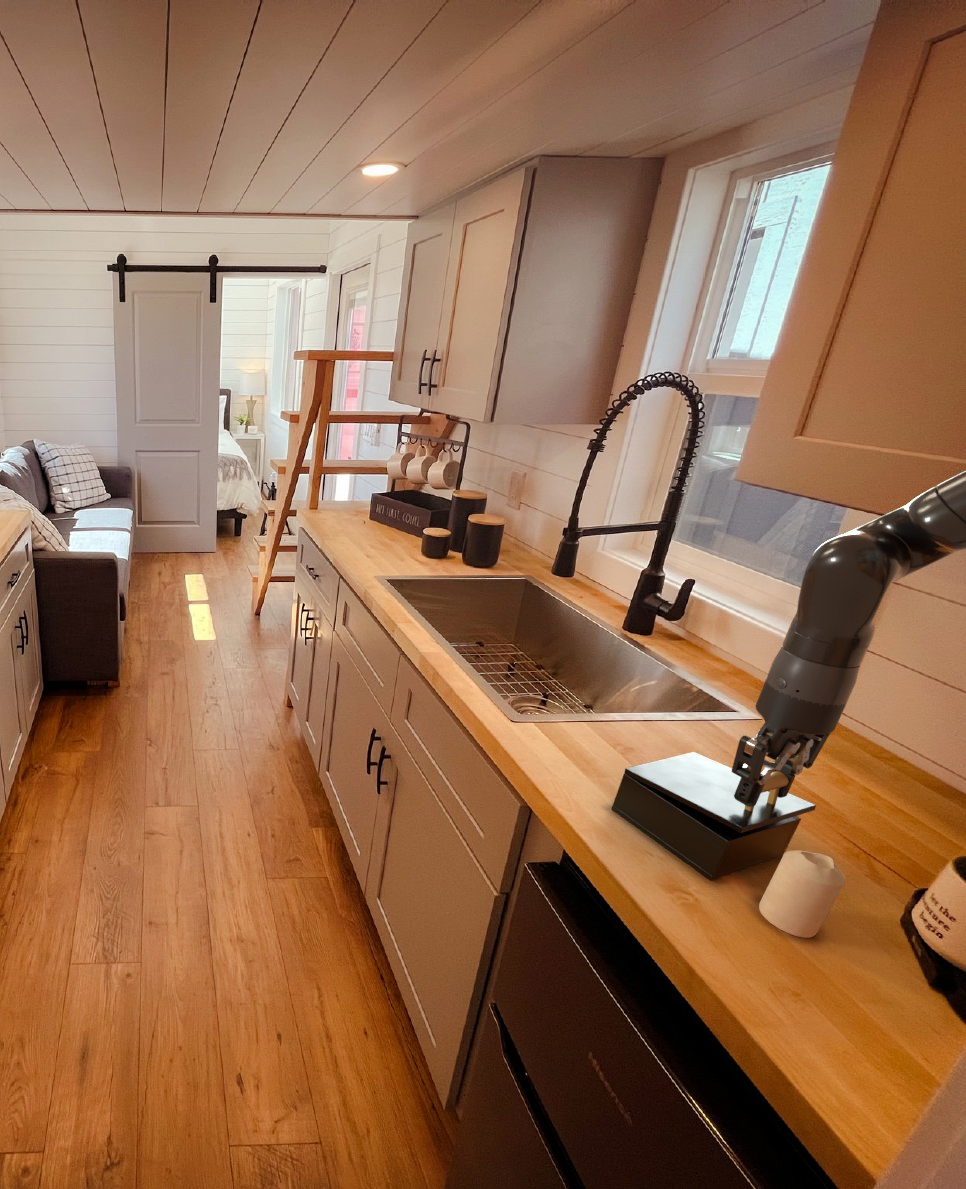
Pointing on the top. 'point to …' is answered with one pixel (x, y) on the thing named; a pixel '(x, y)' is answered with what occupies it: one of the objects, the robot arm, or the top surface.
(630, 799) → the bread bin
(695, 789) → the bin lid
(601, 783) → the top surface
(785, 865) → the candle
